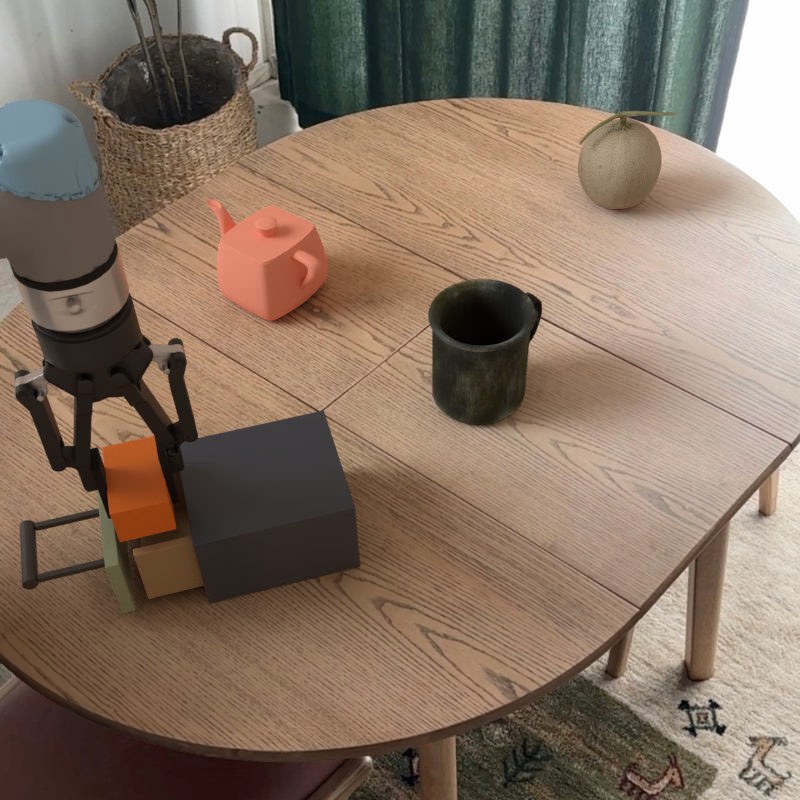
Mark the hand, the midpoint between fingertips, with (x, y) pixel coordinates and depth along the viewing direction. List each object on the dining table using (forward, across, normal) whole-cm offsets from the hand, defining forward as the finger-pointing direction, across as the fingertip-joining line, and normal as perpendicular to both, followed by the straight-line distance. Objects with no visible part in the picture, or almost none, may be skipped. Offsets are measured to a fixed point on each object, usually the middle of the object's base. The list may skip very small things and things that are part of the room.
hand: (142, 499), depth 96 cm
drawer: (+9, -1, 0) cm, 9 cm away
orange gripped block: (0, 0, 0) cm, 0 cm away
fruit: (+10, +65, +41) cm, 77 cm away
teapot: (+10, +18, +37) cm, 42 cm away
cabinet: (+9, +11, 0) cm, 14 cm away
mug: (+10, +38, +13) cm, 41 cm away
